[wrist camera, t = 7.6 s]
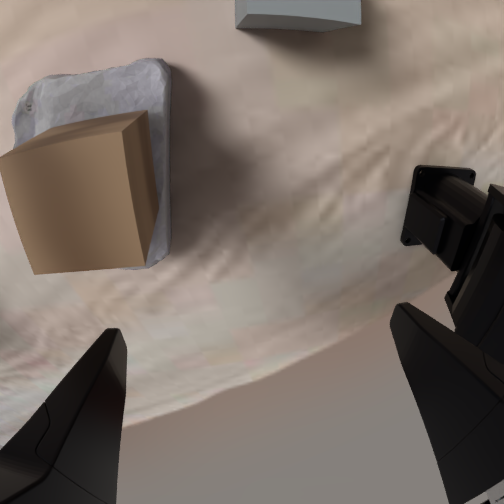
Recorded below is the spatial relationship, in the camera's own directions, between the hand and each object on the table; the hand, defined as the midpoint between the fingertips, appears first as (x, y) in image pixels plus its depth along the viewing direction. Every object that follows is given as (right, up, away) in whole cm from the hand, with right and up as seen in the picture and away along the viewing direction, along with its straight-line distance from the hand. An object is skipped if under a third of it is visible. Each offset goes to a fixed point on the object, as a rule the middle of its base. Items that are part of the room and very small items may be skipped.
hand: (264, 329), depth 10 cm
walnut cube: (-8, +6, +4) cm, 11 cm away
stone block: (-10, +8, +8) cm, 15 cm away
